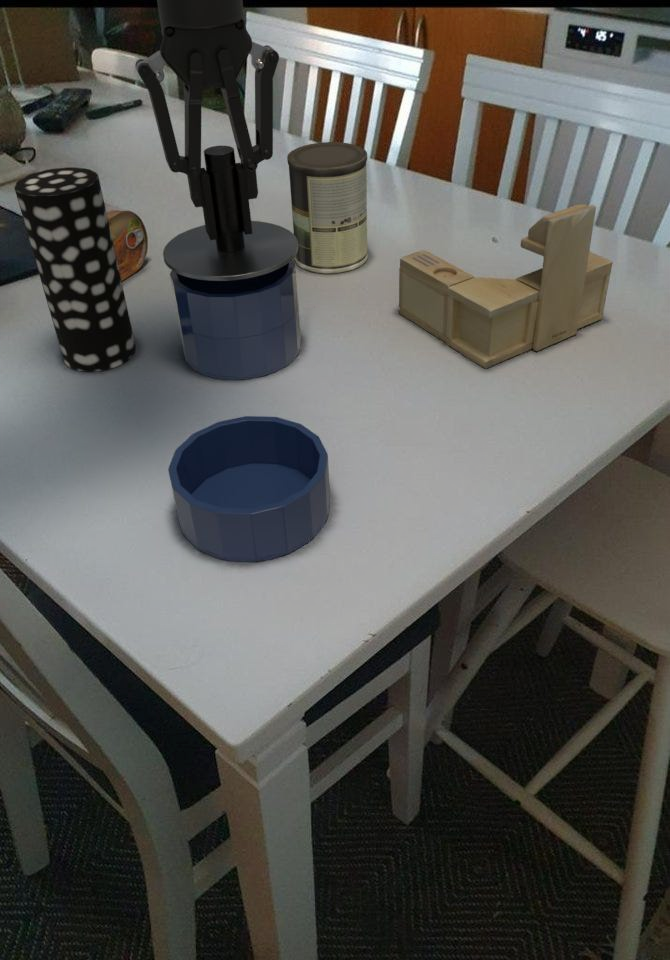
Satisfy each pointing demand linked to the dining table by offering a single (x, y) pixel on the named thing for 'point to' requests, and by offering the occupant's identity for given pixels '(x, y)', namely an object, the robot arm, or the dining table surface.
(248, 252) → the lid
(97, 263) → the white-spotted black cylinder
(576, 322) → the toy kitchen set
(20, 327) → the dining table surface
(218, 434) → the pan
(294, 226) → the coffee can
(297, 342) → the pot
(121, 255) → the tin
